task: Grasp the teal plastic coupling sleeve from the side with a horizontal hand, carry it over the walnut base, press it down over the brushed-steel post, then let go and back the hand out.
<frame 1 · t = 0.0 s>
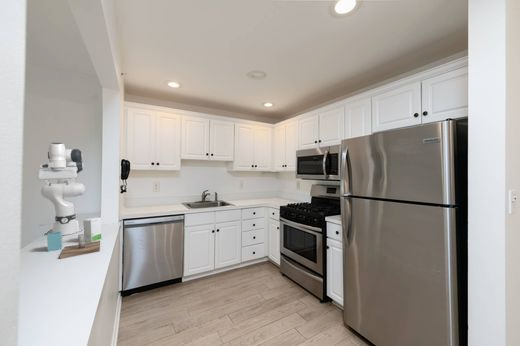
hand: (58, 185, 153), 39 cm above the table, tool pointing down, fingers open, 8 cm apart
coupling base: (82, 250, 138), on the table
skincare box: (93, 241, 155), on the table
coupling sleeve: (55, 249, 140), on the table
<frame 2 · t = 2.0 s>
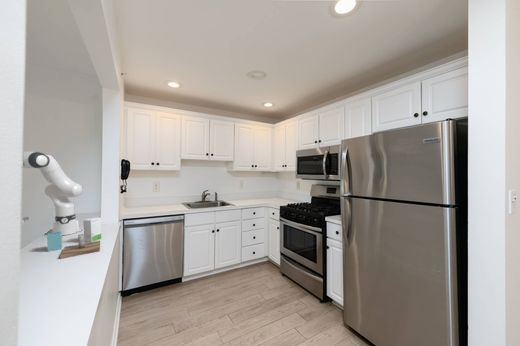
hand: (26, 219, 133), 21 cm above the table, tool horizontal, fingers open, 8 cm apart
nothing on the table moved.
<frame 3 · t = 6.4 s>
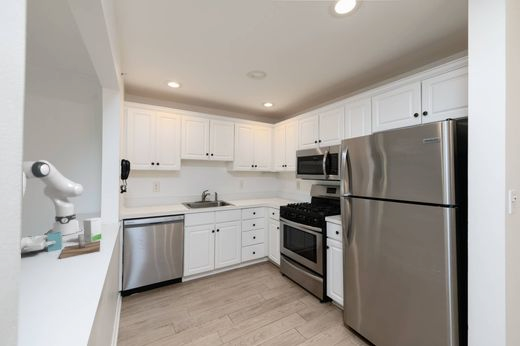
hand: (56, 240, 141), 6 cm above the table, tool horizontal, fingers closed on coupling sleeve, 6 cm apart
coupling sleeve: (55, 249, 140), on the table, touching gripper
everything else where it was.
when the fingers open (8 cm above the table, at t = 13.8 s): coupling sleeve drops 1 cm, resting on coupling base.
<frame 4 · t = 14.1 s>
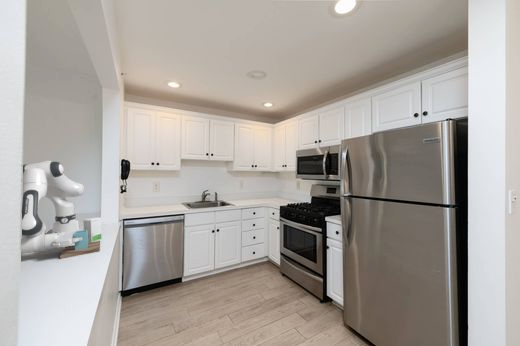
hand: (83, 236, 138), 8 cm above the table, tool horizontal, fingers open, 8 cm apart
coupling sleeve: (81, 247, 138), point 1 cm above the table, touching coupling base
everything else where it was.
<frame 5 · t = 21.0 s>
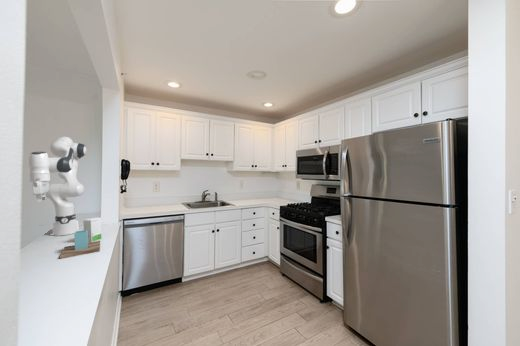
hand: (41, 200, 136), 31 cm above the table, tool pointing down, fingers open, 8 cm apart
nothing on the table moved.
at the end: coupling sleeve 0.1 cm off-centre on the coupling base, point 1.5 cm above the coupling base's base; coupling sleeve tilted 0°; the gripper is holding nothing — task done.
